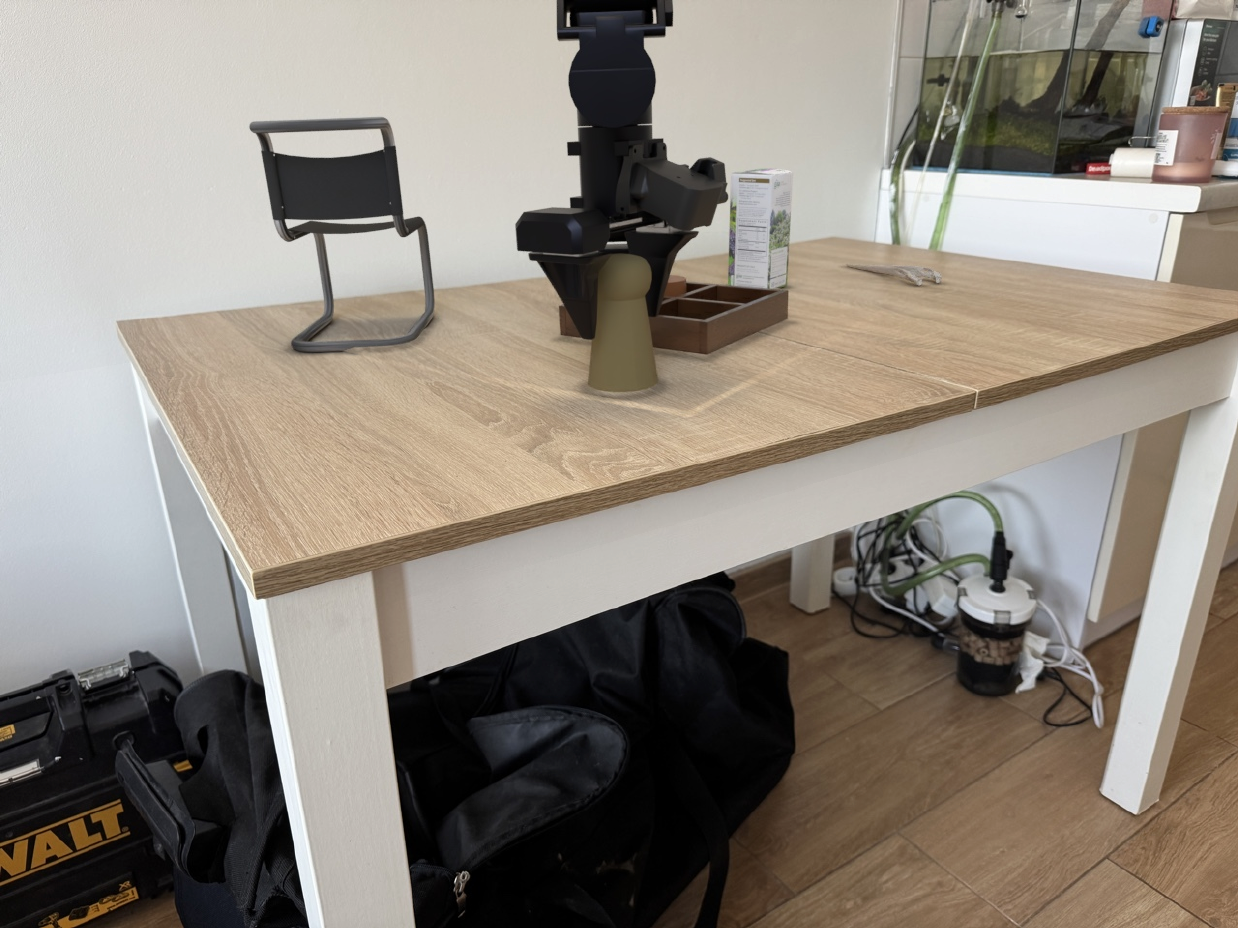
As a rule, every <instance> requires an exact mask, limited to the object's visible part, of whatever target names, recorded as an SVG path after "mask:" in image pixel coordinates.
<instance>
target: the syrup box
mask: <svg viewBox="0 0 1238 928" xmlns="http://www.w3.org/2000/svg"><path fill="white" fill-rule="evenodd" d="M793 176H794V172H793V171H792V170H787V169H783V168H771V167H770V168H755V169H749V170H742V171H735V172H731V173H730V197H729V198H730V201H729V231H728V233H729V234H728V236H729V238H728V240H729V241H728V272H727V285H733V286H745V287H757V288H769V289H782V288H785V287H787V286H788V281H789V280H788V278H789V277H788V276H789V261H790V259H789V258H790V257H789V256H790V241H791V239H790V237H791V219H792V216H791V215H792V199H793V179H794V177H793Z"/></svg>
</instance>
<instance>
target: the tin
mask: <svg viewBox="0 0 1238 928" xmlns="http://www.w3.org/2000/svg"><path fill="white" fill-rule="evenodd" d="M686 282H687V278H686V277H685V276H683V275H675V274H670V276H669V280H668V283H667V287H666V290H665V294H664V296H671V297H676V296H679V295H682V294H685V293H686Z"/></svg>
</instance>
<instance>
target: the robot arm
mask: <svg viewBox="0 0 1238 928" xmlns="http://www.w3.org/2000/svg"><path fill="white" fill-rule="evenodd" d="M673 3H674V2H673V0H556V38H557V39H556V40H557V41H558V42H578V45H579V50H577V52H576V53H575V55H574V57H573V59H572V61H571V63H570V68H569V72H568V75H567V77H568V79H567V81H568V85H567V86H568V90H569V95H570V98H571V101H572V102H573V105H574V107H575V109H576V119H577V138H578V139H577V140H573V141H566V150H567V152H566V153H567V157H578V163H579V164H578V165H579V187H580V195H578V196H571V197H569V207H556V206H555V207H553V206H551V207H546V208H545V207H544V208H539V209H534V210H533V209H532V210H528V211H523V212H522V214H521V215H520V216H519V218H518V220H517V221H516V222H515V223H514V224H515V226H514V227H515V239H516V241H515V242H516V250H517V251H518V252H526V253H527V252H528V253H527V254H528V259H529V261H530V262H531V261H532V262H536V263H537V264H538V266H539V267H540V269H541V270H542V272H543V274H545V275H544V276H546V278H547V279H548V281H549V282H550V284H551V286H552V287H553V289H554V290H555V292H556V294H557V295H558V298H559V299H560V301H561V303H562V305H564V306H565V308H566V310H567V312H568V314H569V316H570V318H571V319H572V321H573V323H574V325H575V327H576V329H577V331H578V332H579V334H580V336H581V339H582V340H588V341H592V339H594V338H595V333H596V324H597V297H598V274H599V271H600V270H601V269H602V267H603V266H604V265H605V263H606V262H607V261H608V259H609V258H610V257H611V255H612V254H632V255H637V256H641V257H642V258H644V259H646V260H647V262H648V264H649V265H650V268H651V272H652V280H651V284H650V289H649V290H648V292H647V293H646V295H645V298H646V305H647V311H648V317H657V316H658V314H659V311H660V307H661V304H662V301H663V297H664V294H665V290H666V287H667V283H668V280H669V276H670V275H671V273H672V270H673V267H674V265H675V264H674V263H675V261H676V258H677V256H678V253H679V252H680V251H681V250H682V249H683V248H684V247H685V246H686V245H687V244H688V243H689V242H690V241H691V240H693V239H695V238H697V237H698V235H699V233H700V231H698V230H694V229H697V228H701V227H707V228H708V227H710V226H712V223H713V220H714V217H715V213H716V210H717V208H718V205H722V204H725V203H727V202H728V201H729V193H728V192H727V186H728V182H727V176H726V175H727V174H726V164H725V163H724V162H723V161H720V160H718V159H716V158H714V157H711V156H709V157H700V158H698V159H696V161H694V163H693V164H692V165H691V166H689V164H686V163H684V164H679V163H676V162H673V161H670V160H668V146H667V144H666V143H665V142H664V137H661V138H660V137H658V138H653V98H654V95H655V94H656V93H655V92H656V86H657V85H656V84H657V77H656V75H657V74H656V70H655V66H654V64H653V60H652V58H651V57H650V55H649V54H648V52H647V50H646V49H645V39H659V38H666V36H667V33H666V32H667V28H671V27H673V26H674V4H673ZM654 11H655V20H656V22H655V23H654ZM568 14H569V17H568ZM568 18H569V26H568Z"/></svg>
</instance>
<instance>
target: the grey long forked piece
mask: <svg viewBox="0 0 1238 928" xmlns="http://www.w3.org/2000/svg"><path fill="white" fill-rule="evenodd" d="M846 266H847V267H850V268H854V269H857V270H861V271H868V272H872V273H878V274H883V275H890V276H894V277H897V278H899V279H903V280H906V281H909V282H911V283H914V284H915V285H917V286H918V287H920V286H922V284H923V279H924V278H926V279H931V280H933V281H935V283H936V284H940V282H941V280H942V278H943V275H942V273H941V272H939V271H936V270H933V269H932V268H929V267H925V266H919V265H899V264H898V265H895V264H854V263H846ZM924 271H926V272H924Z"/></svg>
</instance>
